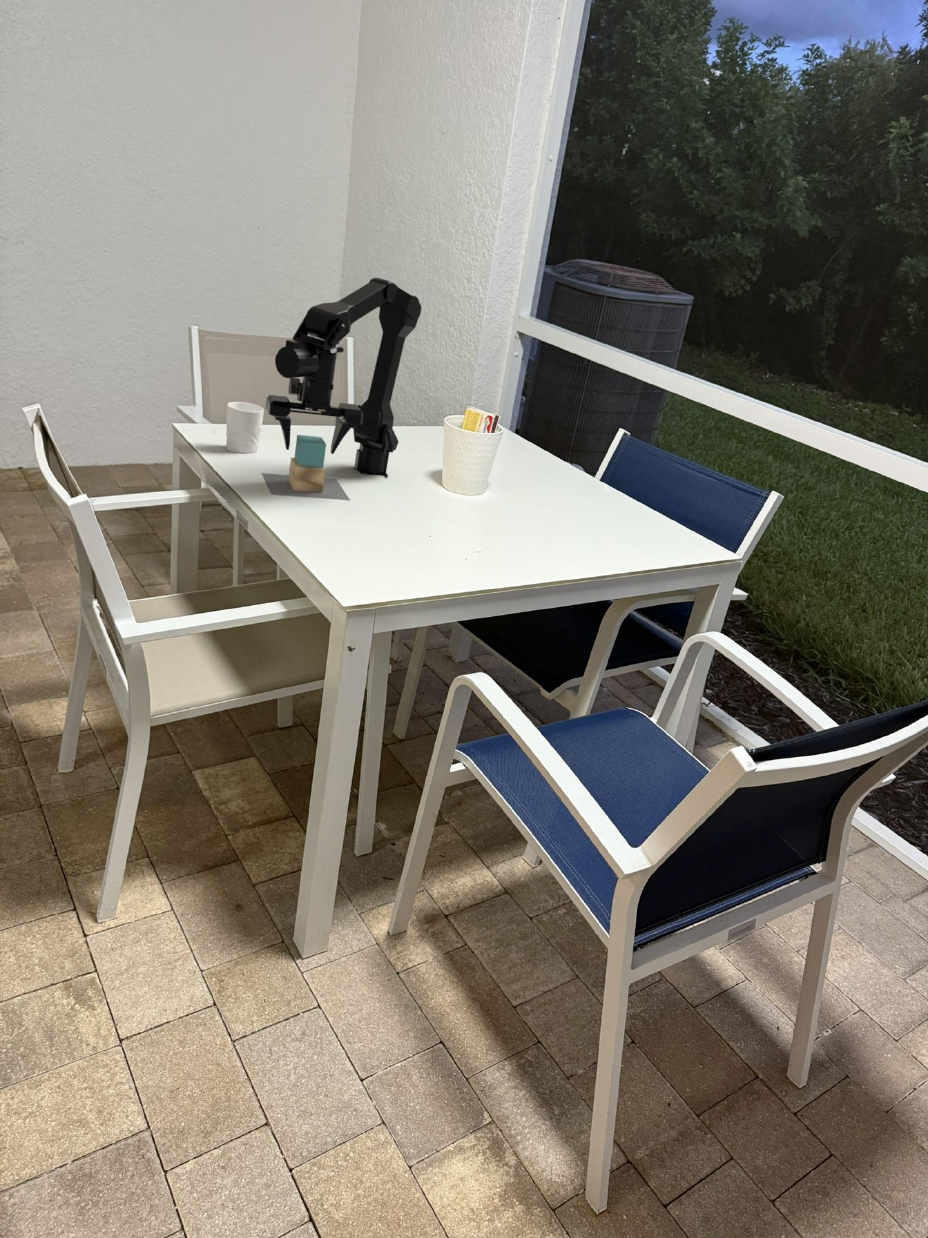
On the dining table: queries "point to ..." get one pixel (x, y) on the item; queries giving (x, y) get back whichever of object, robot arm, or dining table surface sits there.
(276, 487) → the build board
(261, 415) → the white cup
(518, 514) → the dining table surface
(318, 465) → the teal cube
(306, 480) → the oak base block
